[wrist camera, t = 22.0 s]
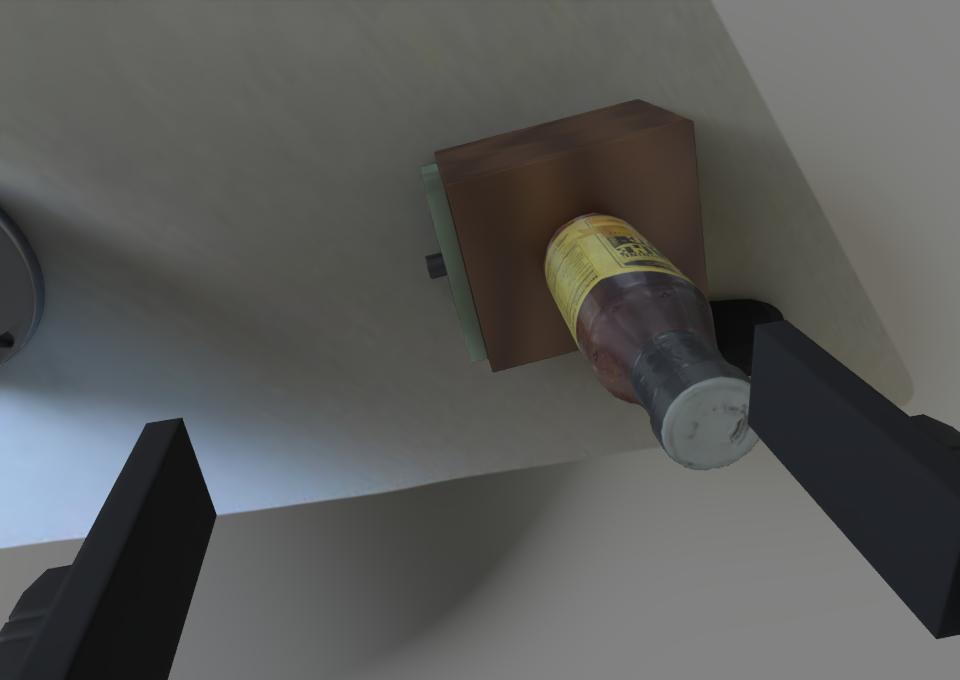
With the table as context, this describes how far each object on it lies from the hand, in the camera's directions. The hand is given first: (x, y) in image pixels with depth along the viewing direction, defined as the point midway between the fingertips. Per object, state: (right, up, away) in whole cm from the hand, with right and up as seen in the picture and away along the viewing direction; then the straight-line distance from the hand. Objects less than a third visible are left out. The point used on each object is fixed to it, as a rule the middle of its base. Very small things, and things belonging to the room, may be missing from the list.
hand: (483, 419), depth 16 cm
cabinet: (+5, +11, +36) cm, 38 cm away
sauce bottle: (+6, +7, +27) cm, 29 cm away
